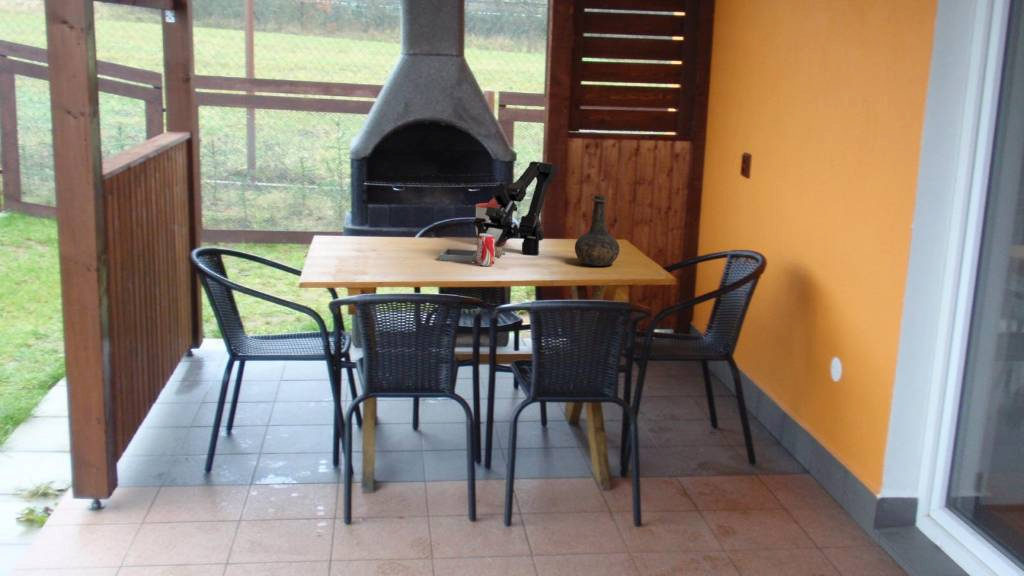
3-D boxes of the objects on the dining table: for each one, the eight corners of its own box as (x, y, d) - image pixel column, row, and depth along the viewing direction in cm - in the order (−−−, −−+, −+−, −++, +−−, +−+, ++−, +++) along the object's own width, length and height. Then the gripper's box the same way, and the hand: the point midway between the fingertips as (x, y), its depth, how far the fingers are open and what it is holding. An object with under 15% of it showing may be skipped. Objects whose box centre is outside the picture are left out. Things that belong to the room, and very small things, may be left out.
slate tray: (479, 256, 404) (479, 250, 404) (473, 263, 391) (473, 256, 391) (446, 254, 406) (446, 248, 405) (439, 260, 393) (439, 254, 393)
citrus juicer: (486, 249, 422) (488, 201, 418) (467, 242, 437) (469, 196, 433) (518, 246, 430) (520, 200, 426) (499, 240, 445) (500, 195, 440)
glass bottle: (610, 260, 409) (614, 191, 403) (624, 269, 392) (629, 197, 386) (568, 260, 405) (572, 191, 399) (580, 269, 388) (584, 197, 382)
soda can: (492, 267, 384) (493, 236, 382) (474, 266, 386) (475, 235, 383) (496, 264, 391) (497, 233, 388) (478, 262, 392) (479, 232, 390)
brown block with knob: (505, 254, 412) (505, 247, 411) (501, 258, 403) (502, 250, 403) (485, 253, 413) (486, 245, 412) (482, 257, 404) (482, 249, 404)
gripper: (477, 196, 393) (459, 227, 386) (516, 201, 383) (499, 233, 376) (487, 214, 401) (470, 245, 394) (526, 220, 391) (510, 251, 384)
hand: (487, 243), depth 387 cm, fingers open, 9 cm apart
